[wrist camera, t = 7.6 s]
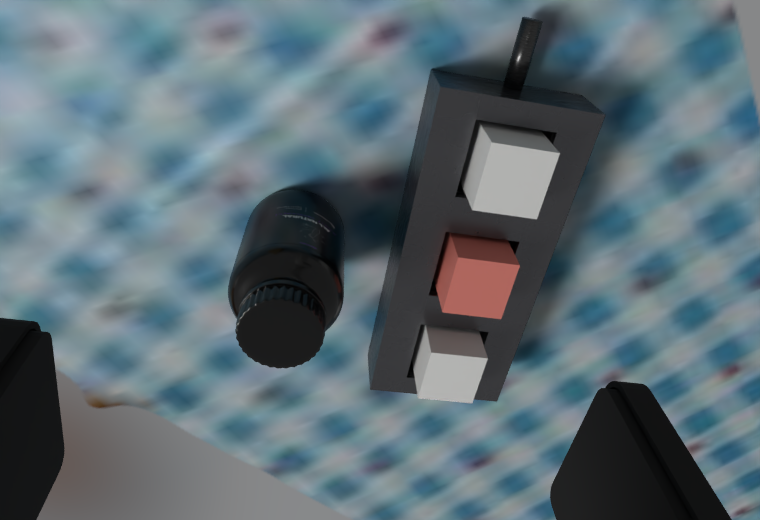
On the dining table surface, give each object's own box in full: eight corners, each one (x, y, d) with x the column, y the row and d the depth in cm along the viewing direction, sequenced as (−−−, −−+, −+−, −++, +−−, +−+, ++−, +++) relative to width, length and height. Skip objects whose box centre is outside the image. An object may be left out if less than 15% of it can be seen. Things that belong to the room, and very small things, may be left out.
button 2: (443, 213, 42) (458, 257, 37) (498, 220, 43) (520, 265, 38) (430, 263, 44) (442, 312, 39) (482, 270, 45) (501, 319, 40)
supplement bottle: (330, 175, 41) (327, 270, 31) (354, 259, 44) (359, 369, 34) (232, 198, 41) (197, 299, 31) (263, 279, 45) (242, 394, 35)
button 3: (420, 301, 46) (431, 352, 41) (471, 307, 47) (488, 358, 41) (409, 344, 48) (418, 398, 43) (458, 349, 49) (472, 403, 44)
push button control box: (446, 0, 36) (457, 12, 32) (606, 31, 37) (634, 45, 34) (367, 354, 49) (370, 389, 46) (487, 367, 50) (498, 401, 47)
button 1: (471, 109, 38) (491, 142, 33) (530, 119, 39) (560, 153, 34) (455, 170, 41) (472, 210, 35) (512, 178, 41) (536, 219, 36)
